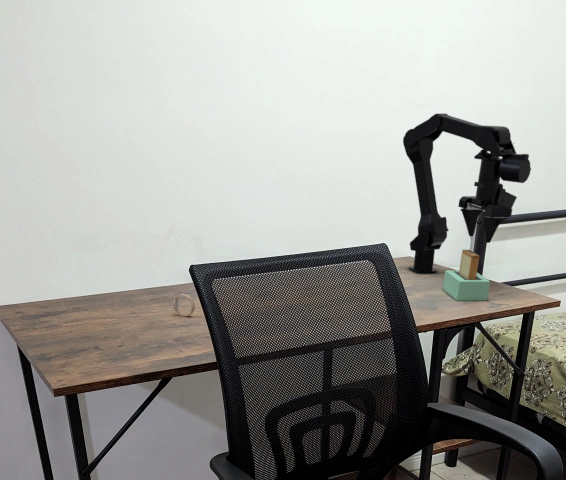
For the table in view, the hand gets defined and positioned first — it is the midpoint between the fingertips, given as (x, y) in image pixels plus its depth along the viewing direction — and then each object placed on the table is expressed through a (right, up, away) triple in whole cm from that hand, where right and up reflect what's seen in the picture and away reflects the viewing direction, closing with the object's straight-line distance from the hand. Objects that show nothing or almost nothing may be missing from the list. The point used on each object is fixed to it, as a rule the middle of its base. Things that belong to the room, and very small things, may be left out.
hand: (479, 239), depth 201 cm
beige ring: (-79, -30, -31) cm, 90 cm away
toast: (-6, -17, -6) cm, 19 cm away
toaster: (-6, -17, -6) cm, 19 cm away
